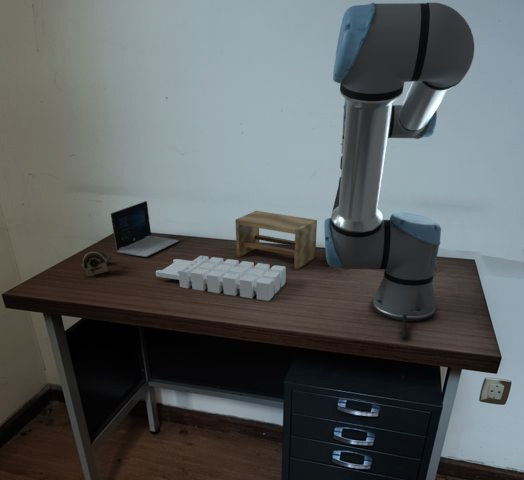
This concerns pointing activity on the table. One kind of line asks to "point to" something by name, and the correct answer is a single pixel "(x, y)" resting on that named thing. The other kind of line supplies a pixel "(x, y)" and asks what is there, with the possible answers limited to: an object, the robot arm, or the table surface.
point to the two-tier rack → (289, 224)
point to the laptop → (136, 232)
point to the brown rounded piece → (95, 263)
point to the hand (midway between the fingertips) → (348, 229)
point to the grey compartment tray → (227, 276)
